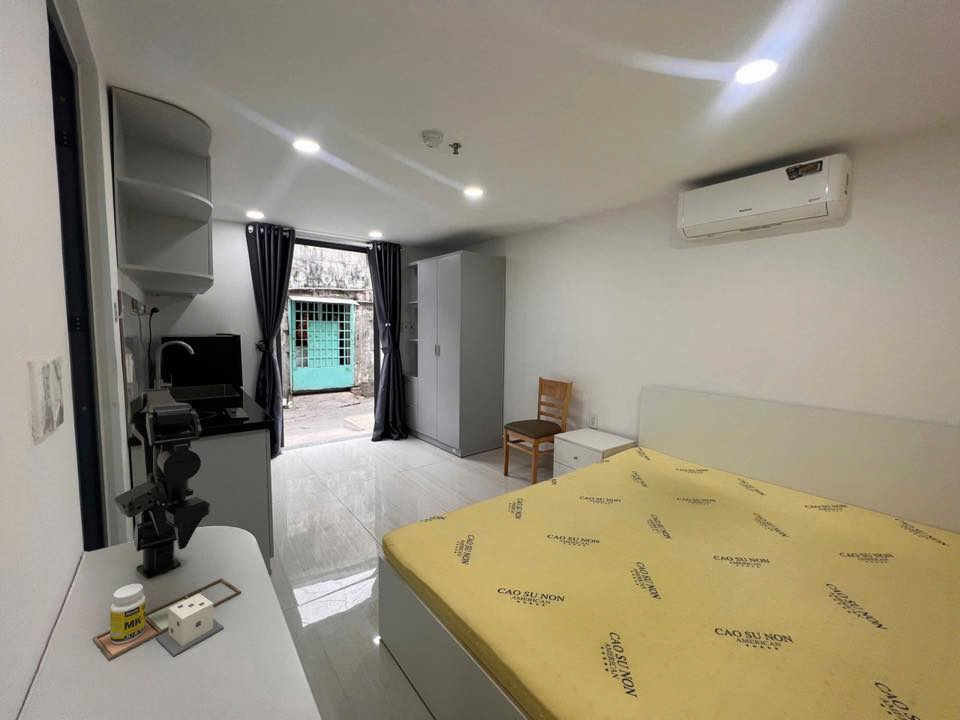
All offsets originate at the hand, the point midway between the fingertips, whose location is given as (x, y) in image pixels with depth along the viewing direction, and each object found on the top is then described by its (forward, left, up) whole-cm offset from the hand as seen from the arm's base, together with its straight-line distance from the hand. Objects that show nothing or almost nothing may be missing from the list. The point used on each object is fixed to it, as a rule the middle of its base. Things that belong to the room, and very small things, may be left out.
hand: (171, 541), depth 82 cm
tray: (+6, -2, -12) cm, 14 cm away
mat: (+14, -2, -12) cm, 19 cm away
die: (+14, -2, -12) cm, 18 cm away
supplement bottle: (+6, -9, -12) cm, 16 cm away
